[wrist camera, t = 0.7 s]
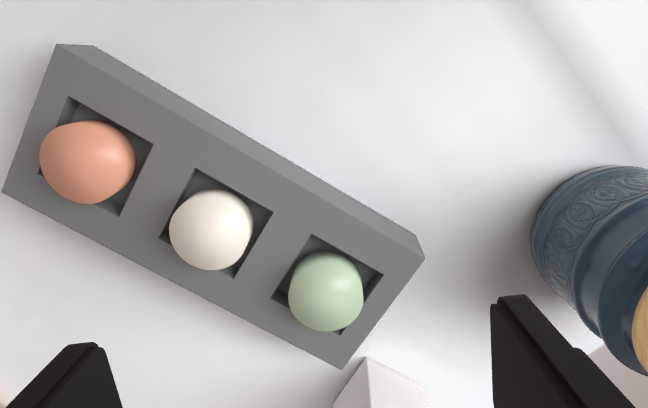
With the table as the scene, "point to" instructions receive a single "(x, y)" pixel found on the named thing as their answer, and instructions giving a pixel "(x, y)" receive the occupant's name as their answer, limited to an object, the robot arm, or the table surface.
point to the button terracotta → (87, 160)
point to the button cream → (211, 228)
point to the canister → (600, 255)
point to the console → (208, 172)
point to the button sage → (326, 291)
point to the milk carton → (381, 389)
